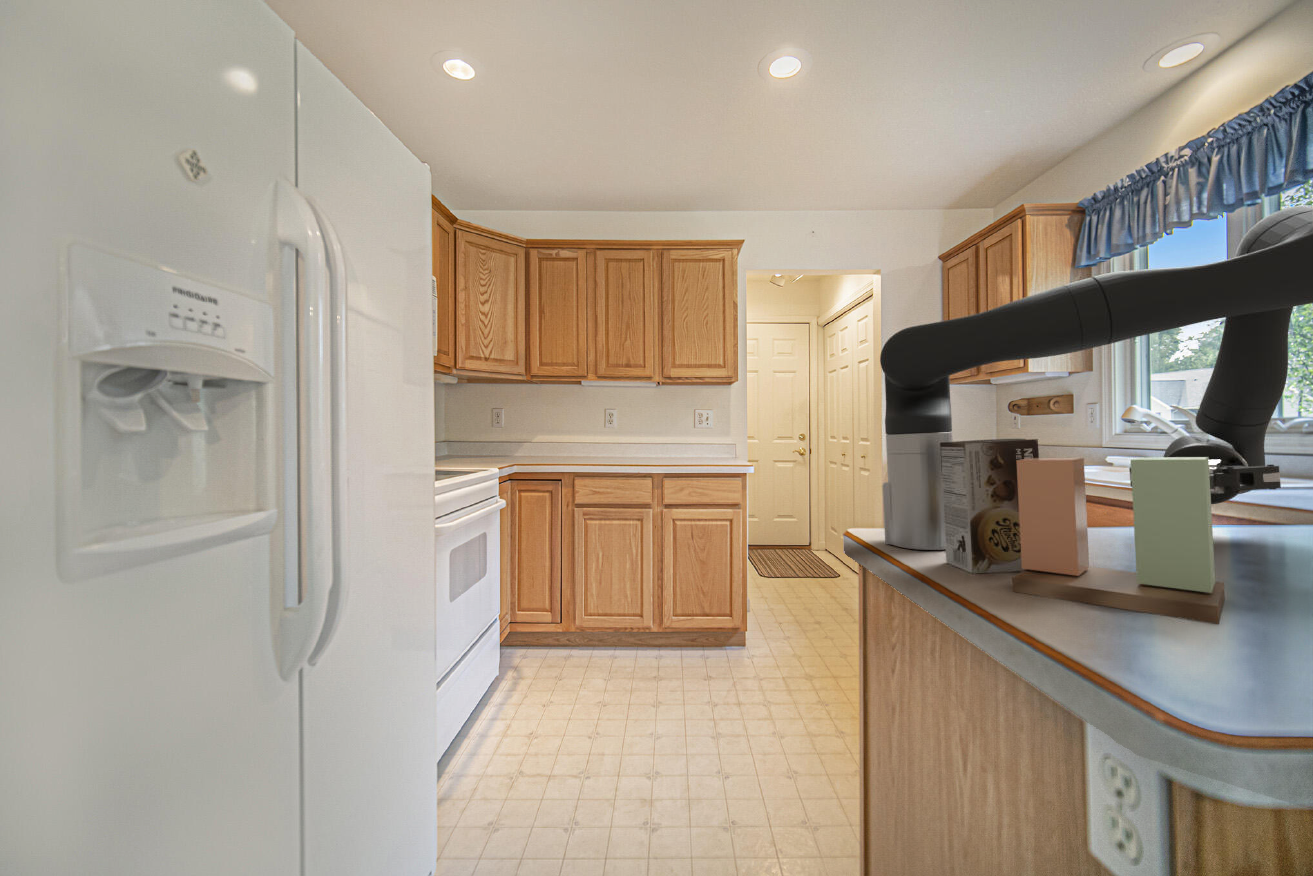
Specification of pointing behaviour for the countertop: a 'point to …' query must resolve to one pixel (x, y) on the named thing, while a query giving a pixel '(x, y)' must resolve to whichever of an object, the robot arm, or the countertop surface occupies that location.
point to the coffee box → (983, 503)
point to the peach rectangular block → (1053, 515)
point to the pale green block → (1173, 522)
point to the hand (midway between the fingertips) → (1193, 483)
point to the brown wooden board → (1123, 593)
